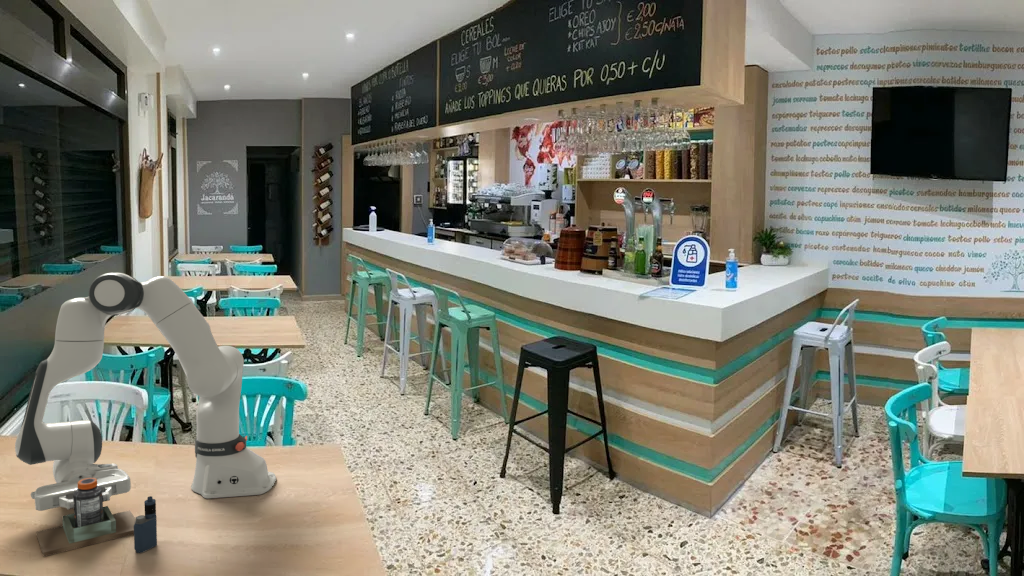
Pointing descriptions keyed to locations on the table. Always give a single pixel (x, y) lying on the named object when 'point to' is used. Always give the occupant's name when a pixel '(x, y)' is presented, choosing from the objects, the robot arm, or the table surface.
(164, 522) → the table surface
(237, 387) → the robot arm
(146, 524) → the vaping device
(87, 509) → the pill bottle
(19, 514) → the table surface
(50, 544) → the socket board
